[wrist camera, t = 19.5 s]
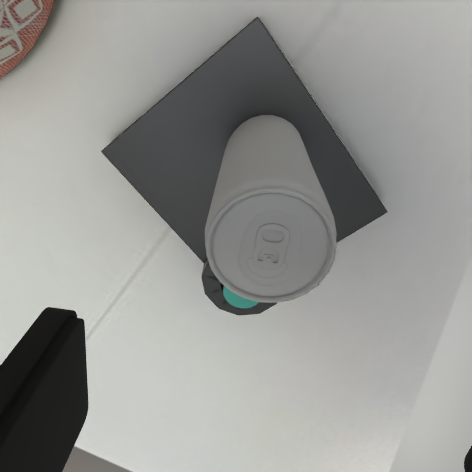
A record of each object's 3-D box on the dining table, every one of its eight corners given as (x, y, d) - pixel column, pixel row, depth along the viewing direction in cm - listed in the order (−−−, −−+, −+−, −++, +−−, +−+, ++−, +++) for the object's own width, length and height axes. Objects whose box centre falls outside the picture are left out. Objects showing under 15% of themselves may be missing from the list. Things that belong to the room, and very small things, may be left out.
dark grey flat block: (385, 209, 28) (401, 232, 25) (238, 298, 32) (236, 327, 29) (257, 16, 23) (258, 16, 20) (102, 150, 27) (82, 166, 24)
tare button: (271, 282, 28) (271, 296, 27) (240, 300, 29) (239, 315, 27) (247, 255, 27) (247, 268, 26) (216, 275, 28) (214, 288, 26)
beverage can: (220, 184, 26) (195, 296, 15) (230, 106, 24) (209, 174, 13) (296, 195, 26) (322, 314, 16) (312, 119, 24) (357, 196, 13)
